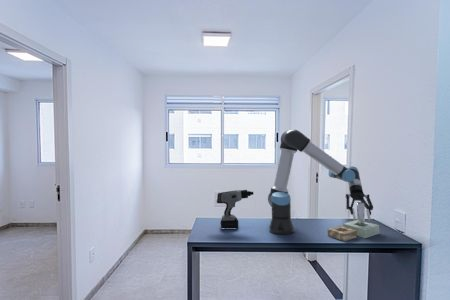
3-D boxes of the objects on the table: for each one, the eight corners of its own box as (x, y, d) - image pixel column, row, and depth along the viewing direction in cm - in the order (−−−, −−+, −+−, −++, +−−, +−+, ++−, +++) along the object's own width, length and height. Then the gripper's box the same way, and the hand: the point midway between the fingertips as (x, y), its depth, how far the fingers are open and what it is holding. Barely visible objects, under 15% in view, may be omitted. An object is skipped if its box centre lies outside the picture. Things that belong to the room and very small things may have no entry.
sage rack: (343, 231, 166) (343, 223, 166) (357, 227, 173) (357, 219, 173) (365, 238, 154) (364, 229, 154) (379, 233, 161) (378, 225, 161)
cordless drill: (254, 229, 175) (253, 190, 175) (216, 229, 176) (215, 191, 175) (253, 225, 183) (252, 188, 183) (217, 226, 184) (216, 189, 183)
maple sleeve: (327, 235, 160) (327, 229, 160) (339, 232, 165) (339, 225, 165) (344, 241, 150) (344, 234, 150) (356, 237, 156) (356, 230, 156)
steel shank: (355, 232, 164) (355, 202, 164) (359, 231, 167) (359, 201, 166) (361, 234, 161) (361, 204, 160) (365, 233, 163) (365, 203, 162)
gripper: (371, 191, 176) (379, 223, 160) (338, 190, 181) (342, 221, 165) (373, 184, 171) (382, 216, 155) (339, 183, 175) (344, 215, 160)
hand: (362, 219), depth 160 cm, fingers open, 7 cm apart
